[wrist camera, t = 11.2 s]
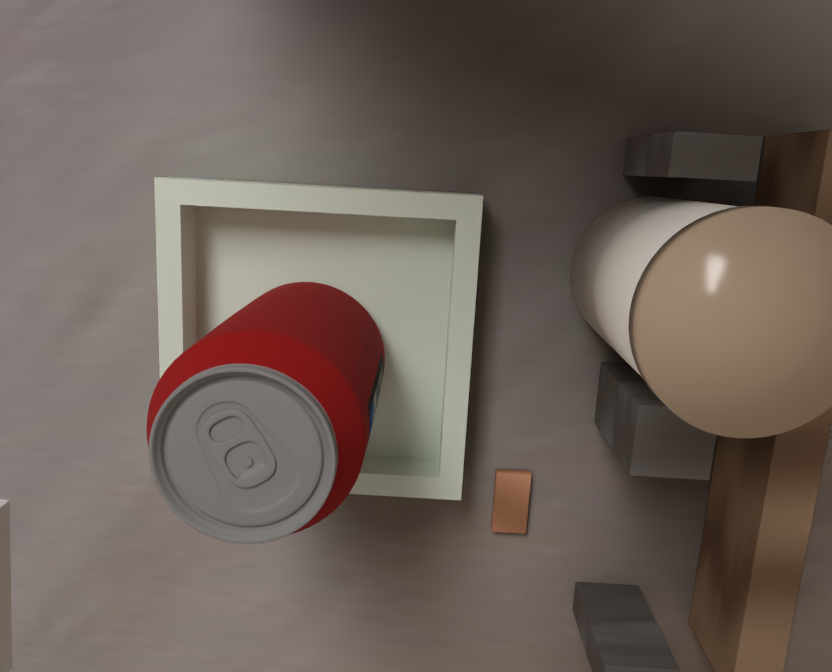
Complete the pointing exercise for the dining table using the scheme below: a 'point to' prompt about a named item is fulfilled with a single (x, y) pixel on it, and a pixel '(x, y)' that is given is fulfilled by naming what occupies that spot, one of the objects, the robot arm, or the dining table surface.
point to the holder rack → (709, 454)
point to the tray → (351, 273)
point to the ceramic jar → (715, 308)
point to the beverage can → (268, 415)
